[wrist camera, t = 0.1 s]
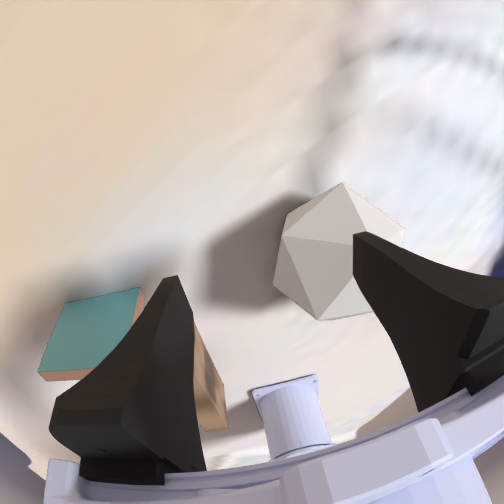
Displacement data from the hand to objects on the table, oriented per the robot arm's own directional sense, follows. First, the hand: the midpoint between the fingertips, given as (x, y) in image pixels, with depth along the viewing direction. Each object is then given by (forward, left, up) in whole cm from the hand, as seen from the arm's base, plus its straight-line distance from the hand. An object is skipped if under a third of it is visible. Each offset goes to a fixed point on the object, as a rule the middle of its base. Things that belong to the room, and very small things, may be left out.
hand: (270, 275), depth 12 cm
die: (-4, -5, -10) cm, 12 cm away
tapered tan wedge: (-16, +8, -10) cm, 20 cm away
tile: (-6, +14, -10) cm, 18 cm away
